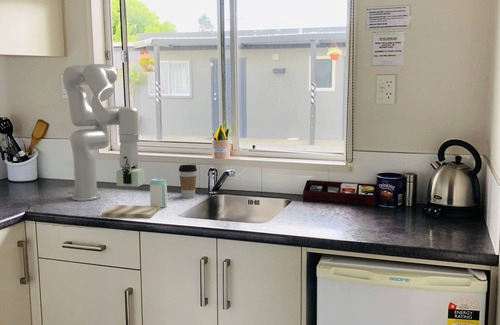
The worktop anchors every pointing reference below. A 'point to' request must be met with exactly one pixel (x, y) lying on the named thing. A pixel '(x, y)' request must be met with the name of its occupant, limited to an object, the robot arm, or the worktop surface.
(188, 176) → the coffee cup
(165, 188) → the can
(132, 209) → the birch board
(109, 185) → the worktop surface
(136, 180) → the sage brick
